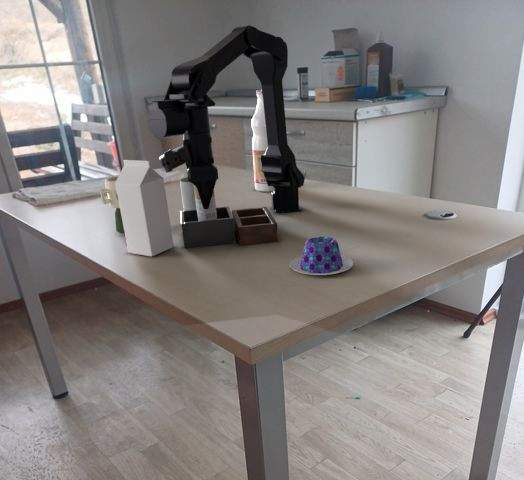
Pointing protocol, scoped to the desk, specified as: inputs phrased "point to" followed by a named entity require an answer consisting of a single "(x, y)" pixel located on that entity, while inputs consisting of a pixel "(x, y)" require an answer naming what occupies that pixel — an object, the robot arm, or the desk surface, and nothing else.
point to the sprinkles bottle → (205, 213)
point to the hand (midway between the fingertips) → (205, 206)
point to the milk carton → (143, 209)
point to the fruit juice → (259, 144)
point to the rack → (255, 226)
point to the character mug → (113, 201)
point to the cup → (188, 195)
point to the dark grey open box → (207, 228)
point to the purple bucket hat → (321, 258)
